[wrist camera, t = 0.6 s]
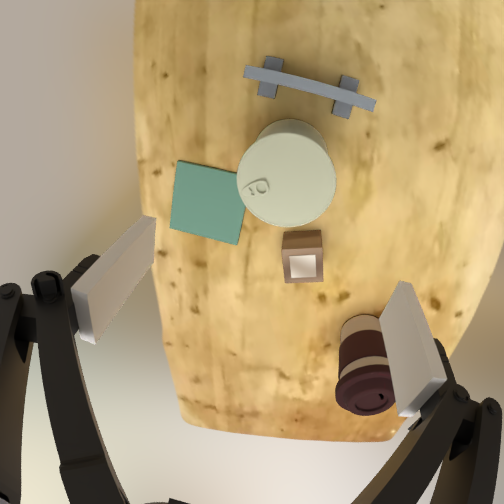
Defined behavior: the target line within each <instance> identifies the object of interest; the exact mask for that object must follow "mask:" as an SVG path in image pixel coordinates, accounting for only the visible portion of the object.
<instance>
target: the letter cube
mask: <svg viewBox="0 0 504 504" xmlns="http://www.w3.org/2000/svg"><path fill="white" fill-rule="evenodd" d="M282 259H283V269H284V278H285V283H304V282H323V252H322V238H321V230H311V231H293V232H284V235H283V242H282Z"/></svg>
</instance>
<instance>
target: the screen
mask: <svg viewBox="0 0 504 504" xmlns="http://www.w3.org/2000/svg"><path fill="white" fill-rule="evenodd" d="M283 62H284V59H280V58H275V57H270V56H266V60H265V64H264V68H259V67H253V66H248V65H246V67H245V71H244V76H243V77H244V78H249V79H254V80H259V81H260V85H259V90H258V94H257V95H260V96H264V97H269V98H273V99H275V95H276V91H277V87H278V85H282V86H286V87H290V88H294V89H298V90H302V91H306V92H310V93H313V94H317V95H321V96H324V97H328V98H331V99H334V100H335V103H334V107H333V111H332V114H333V115H337V116H340V117H343V118H346V119H349V116H350V113H351V109H352V106H353V105H354V106H357V107H360V108H363V109H365V110H368V111H371V112H373V111H374V107H375V104H376V100H375V99H372V98H369V97H366V96H363V95H360V94H357V93H356V91H357V87H358V84H359V80H356V79H353V78H350V77H347V76H344V75H342V77H341V81H340V84H339V88H338V87H335V86H332V85H328V84H325V83H321V82H318V81H314V80H310V79H307V78H303V77H299V76H295V75H291V74H286V73H282V72H281V70H282V66H283Z"/></svg>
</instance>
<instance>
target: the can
mask: <svg viewBox="0 0 504 504" xmlns="http://www.w3.org/2000/svg"><path fill="white" fill-rule="evenodd" d="M237 187H238V191H239V194H240V197H241V199H242V201H243V203H244V204H245V206H246V207H247V208H248V209H249V211H250V212H251V213H252V214H254V215H255V216H256V217H257V218H259V219H260V220H262V221H264V222H266V223H269V224H271V225H275V226H279V227H296V226H301V225H304V224H307V223H309V222H311V221H313V220H315V219H316V218H318V217H319V216H320V215H321V214H322V213H323V212H324V211H325V210H326V209H327V208H328V206H329V205H330V203H331V201H332V199H333V197H334V194H335V190H336V172H335V168H334V165H333V163H332V160H331V158H330V157H329V155H328V151H327V146H326V143H325V141H324V139H323V137H322V135H321V134H320V133H319V132H318V131H317V130H316V129H315V128H314V127H313V126H311V125H310V124H308V123H306V122H303V121H300V120H296V119H283V120H279V121H276V122H274V123H272V124H270V125H268V126H267V127H266V128H265V129H264V130H263V131H262V132H261V133H260V134H259V136H258V137H257V139H256V142H255V143H253V144H252V145H251V146H250V147H249V148H248V149H247V151H246V152H245V153H244V155H243V157H242V158H241V160H240V163H239V166H238V170H237Z"/></svg>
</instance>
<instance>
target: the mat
mask: <svg viewBox="0 0 504 504" xmlns="http://www.w3.org/2000/svg"><path fill="white" fill-rule="evenodd" d="M245 207H246V206H245V204H244V203H243V201H242V199H241V197H240V194H239V191H238V187H237V173H234V172H230V171H226V170H221V169H217V168H213V167H208V166H203V165H199V164H194V163H189V162H185V161H180V160H179V161H177V168H176V175H175V183H174V192H173V201H172V210H171V220H170V228H172V229H176V230H180V231H183V232H187V233H191V234H195V235H199V236H203V237H207V238H210V239H214V240H218V241H222V242H226V243H230V244H234V245H237V244H238V239H239V235H240V230H241V226H242V221H243V216H244V212H245Z"/></svg>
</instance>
